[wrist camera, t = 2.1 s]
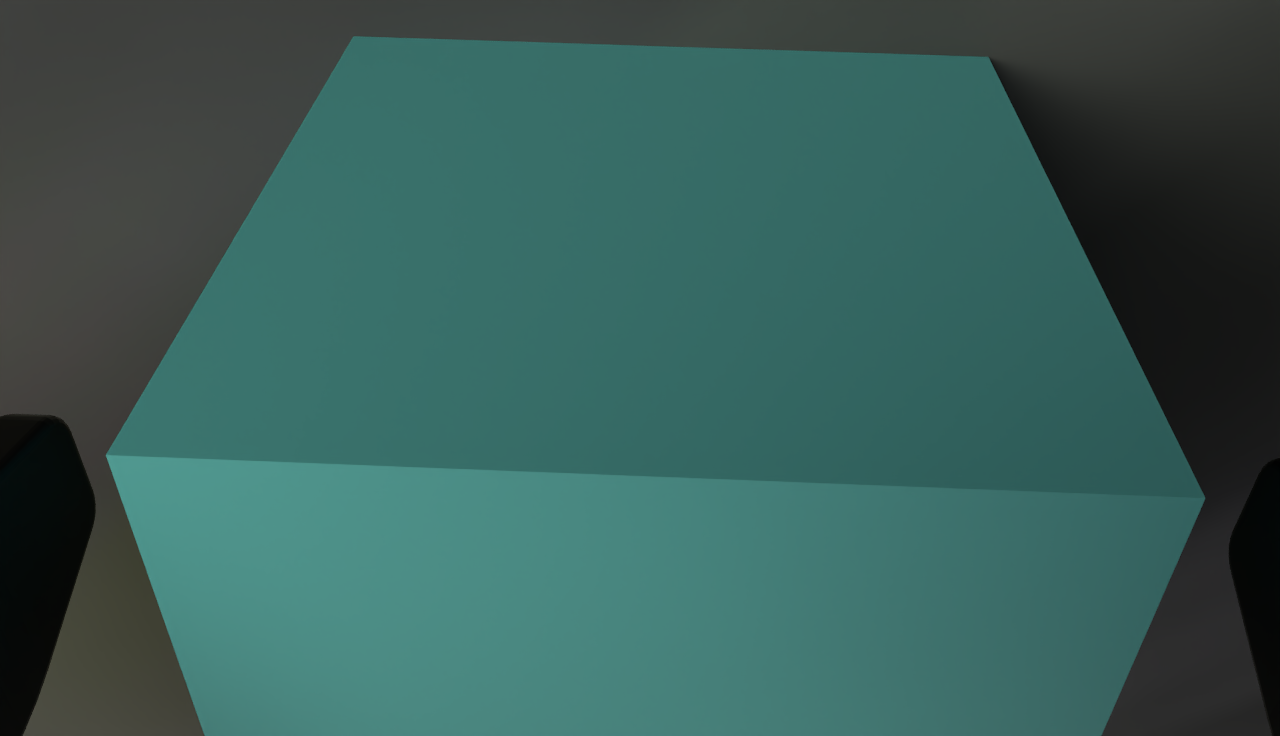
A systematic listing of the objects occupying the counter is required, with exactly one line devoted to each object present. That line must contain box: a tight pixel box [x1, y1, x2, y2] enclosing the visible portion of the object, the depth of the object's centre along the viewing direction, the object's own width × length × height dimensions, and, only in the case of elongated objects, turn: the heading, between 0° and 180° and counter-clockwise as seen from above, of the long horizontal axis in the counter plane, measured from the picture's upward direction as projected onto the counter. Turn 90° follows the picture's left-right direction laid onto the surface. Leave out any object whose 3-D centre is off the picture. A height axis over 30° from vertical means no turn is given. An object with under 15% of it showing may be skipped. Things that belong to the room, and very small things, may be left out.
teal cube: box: [106, 36, 1205, 736], centre depth 9 cm, size 5×5×5 cm
